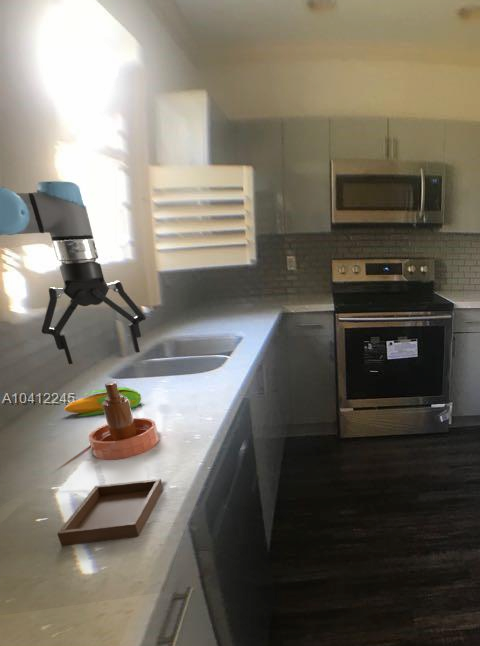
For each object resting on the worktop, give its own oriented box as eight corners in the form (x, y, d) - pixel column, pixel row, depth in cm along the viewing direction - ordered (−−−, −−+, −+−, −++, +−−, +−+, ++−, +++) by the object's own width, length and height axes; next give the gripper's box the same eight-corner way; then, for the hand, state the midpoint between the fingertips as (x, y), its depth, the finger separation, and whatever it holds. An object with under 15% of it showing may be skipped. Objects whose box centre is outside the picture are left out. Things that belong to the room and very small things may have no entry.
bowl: (80, 461, 108) (74, 442, 106) (117, 435, 121) (112, 418, 120) (139, 461, 107) (134, 442, 105) (169, 435, 120) (165, 417, 119)
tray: (98, 496, 93) (95, 485, 92) (163, 489, 95) (160, 478, 94) (61, 546, 79) (57, 533, 78) (138, 536, 81) (135, 524, 80)
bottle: (109, 450, 112) (91, 387, 106) (122, 440, 117) (106, 379, 111) (131, 450, 111) (114, 387, 105) (144, 440, 116) (128, 379, 110)
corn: (137, 387, 134) (56, 399, 127) (142, 411, 136) (64, 424, 129) (138, 381, 141) (62, 392, 133) (144, 405, 143) (69, 417, 135)
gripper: (5, 267, 88) (40, 371, 96) (145, 257, 102) (165, 349, 110) (7, 265, 94) (39, 364, 102) (139, 256, 108) (159, 344, 115)
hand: (105, 357), depth 106 cm, fingers open, 13 cm apart
